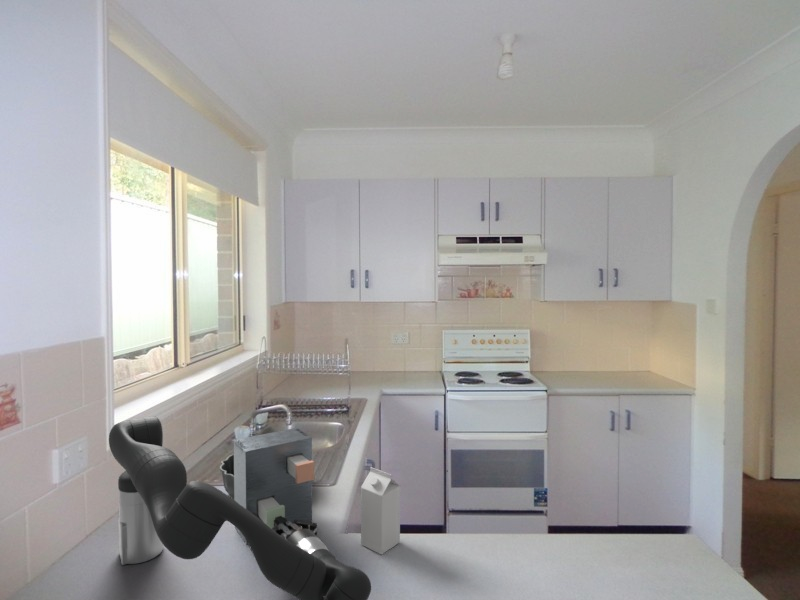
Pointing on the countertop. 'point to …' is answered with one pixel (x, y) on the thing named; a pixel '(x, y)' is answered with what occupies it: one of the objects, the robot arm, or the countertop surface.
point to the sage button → (269, 510)
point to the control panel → (272, 473)
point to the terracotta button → (300, 468)
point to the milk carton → (380, 511)
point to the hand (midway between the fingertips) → (277, 520)
